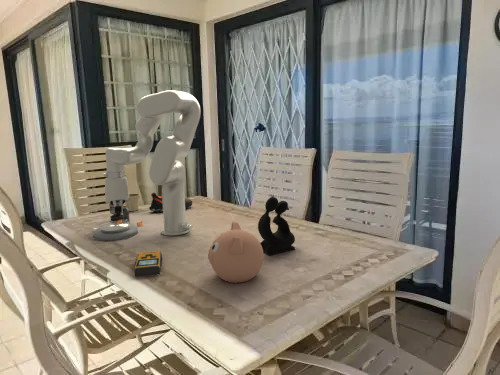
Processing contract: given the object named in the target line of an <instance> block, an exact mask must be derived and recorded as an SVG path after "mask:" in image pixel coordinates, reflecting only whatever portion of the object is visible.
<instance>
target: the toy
mask: <svg viewBox="0 0 500 375" xmlns="http://www.w3.org/2000/svg"><path fill="white" fill-rule="evenodd" d="M260 243H261V242H260V240H259V239H258V238H257V237H256V236H255V235H254V234H253V233H251V232H249V231H247V230H244V229H242V228H241V226H240V224H239V222H236V221H232V223H231V226H230V230H226V231H225V232H222V233H221V234H219V236H217V237H216V238H215V240H214V241H213V242H212V245H211V246H210V248H209V249H208V254H207V258H208V262H209V264H210V265H211V267H212V269H213V271H214V272H215V274H216V275H217V276H218V277H219V278H220V279H222V280H223V281H225V282H227V281H228V283H233V282H234V283H235V284H236V283H237V282H239V283H245V282H248V281H250V280H252V279H253V278H254V277H255V276H256V275H258V273H259V272H260V271H261V268H262V266H263V262H264V257H265V256H264V252H263V249H262V246H261V244H260ZM234 283H233V284H234Z"/></svg>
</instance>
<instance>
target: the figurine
mask: <svg viewBox="0 0 500 375" xmlns="http://www.w3.org/2000/svg"><path fill="white" fill-rule="evenodd" d="M264 206H265V212H264V213H263V214H262V216H260V218H259V220H258V223H257V230H258V233H259V235H260V237H261V238H262V241H261V242H260V244H261V246H262V249H263V253H265V254H266V255H268V256H271V255H274V254H275V255H276V254H279V253H284V252H288V251H293V250H292V249H294V250H296V249H295V248H296V247H295V246H293V245H294V243H295V241H296V236H295V235H294V233H293V232H291V229H290V228H291V227H290V225H289V223H288V221H287V220H286V219H285V218H283V216H281V215H282V214H283V213H285V212H287V211H290V208H289V202H287V201H286V200H280V201H279V200H278V198H277V197H275V196H271V197H269V198H268V199H267V200H266V202H265V205H264ZM273 211H274V213H275V214H276V215H275V216H274V217H273V219H272V218H271V217H270V213H271V212H273ZM271 220H272V223H274V224H275V225H276V226H277V229H276V230H275V232H273V231H272V228H271Z"/></svg>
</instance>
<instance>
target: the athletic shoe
mask: <svg viewBox="0 0 500 375" xmlns="http://www.w3.org/2000/svg"><path fill="white" fill-rule="evenodd" d="M150 195H151V199H152V200H151V203H150V206H149V207H148V208H149V210H150V211H151V212H154V213H163V203H162V194H159V195H158V194H156V192H154V191H153V192H152V193H151V194H150ZM192 206H193V200H192V199H190V198H188V197H185V210H187V209H189V208H191V207H192Z"/></svg>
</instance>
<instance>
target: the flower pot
mask: <svg viewBox="0 0 500 375" xmlns="http://www.w3.org/2000/svg"><path fill="white" fill-rule="evenodd" d="M140 196H141V194H140V193H129V199H130V201H128V202H125V203H124V205H125V208H129V212H136V211H139V208H140V207H139V204H140Z"/></svg>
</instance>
